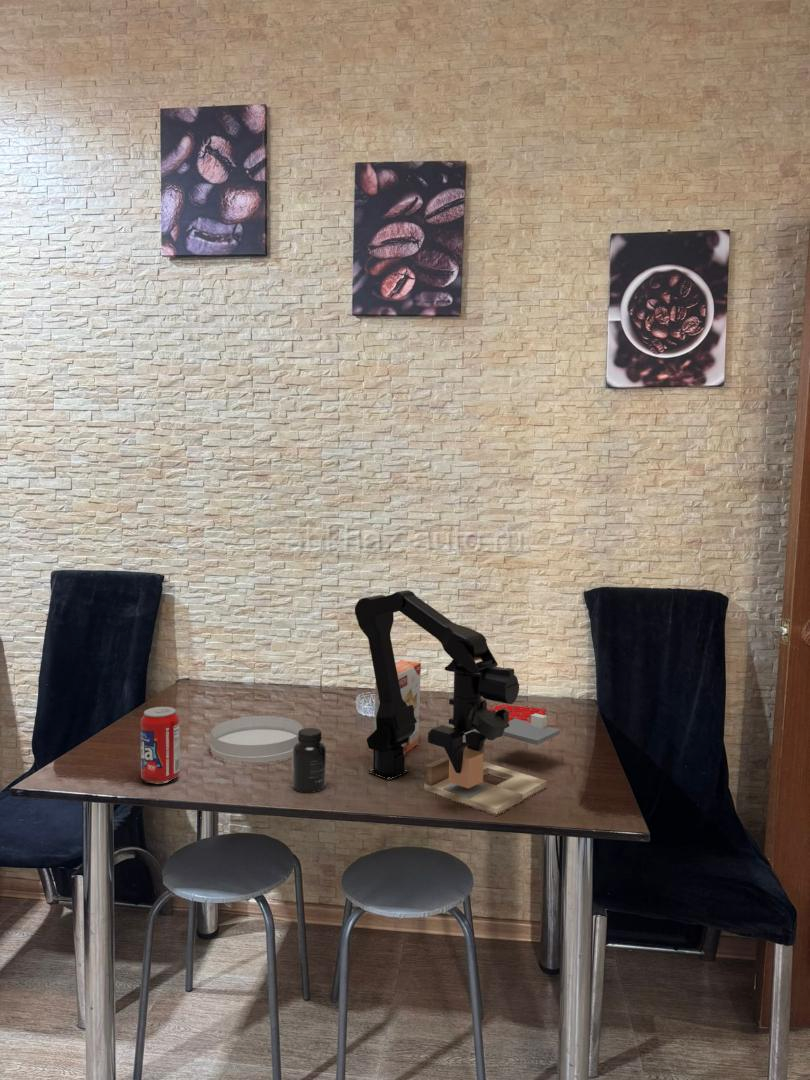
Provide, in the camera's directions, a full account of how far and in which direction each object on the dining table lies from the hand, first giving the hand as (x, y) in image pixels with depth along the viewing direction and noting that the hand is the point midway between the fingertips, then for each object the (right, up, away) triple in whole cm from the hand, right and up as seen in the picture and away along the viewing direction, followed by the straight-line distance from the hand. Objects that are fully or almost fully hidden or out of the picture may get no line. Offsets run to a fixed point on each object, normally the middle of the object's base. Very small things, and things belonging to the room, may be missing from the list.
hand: (465, 769), depth 155 cm
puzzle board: (+5, -6, +4) cm, 8 cm away
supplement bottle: (-33, -5, +4) cm, 33 cm away
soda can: (-65, -4, +6) cm, 65 cm away
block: (0, -3, 0) cm, 3 cm away
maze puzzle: (+15, -3, +55) cm, 57 cm away
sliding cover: (+15, +1, +19) cm, 25 cm away
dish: (-48, -4, +26) cm, 55 cm away
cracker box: (-14, -4, +25) cm, 29 cm away
